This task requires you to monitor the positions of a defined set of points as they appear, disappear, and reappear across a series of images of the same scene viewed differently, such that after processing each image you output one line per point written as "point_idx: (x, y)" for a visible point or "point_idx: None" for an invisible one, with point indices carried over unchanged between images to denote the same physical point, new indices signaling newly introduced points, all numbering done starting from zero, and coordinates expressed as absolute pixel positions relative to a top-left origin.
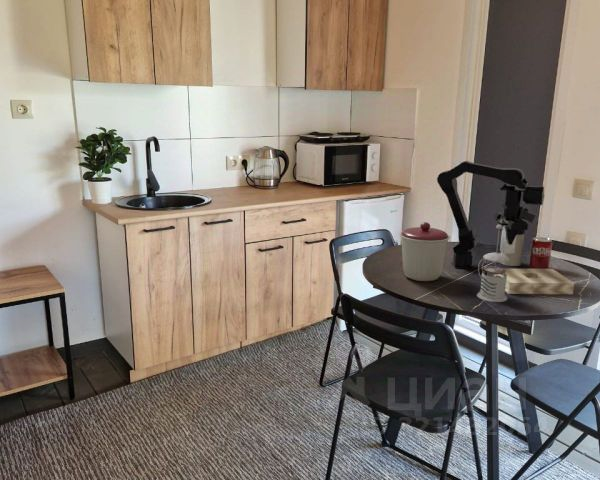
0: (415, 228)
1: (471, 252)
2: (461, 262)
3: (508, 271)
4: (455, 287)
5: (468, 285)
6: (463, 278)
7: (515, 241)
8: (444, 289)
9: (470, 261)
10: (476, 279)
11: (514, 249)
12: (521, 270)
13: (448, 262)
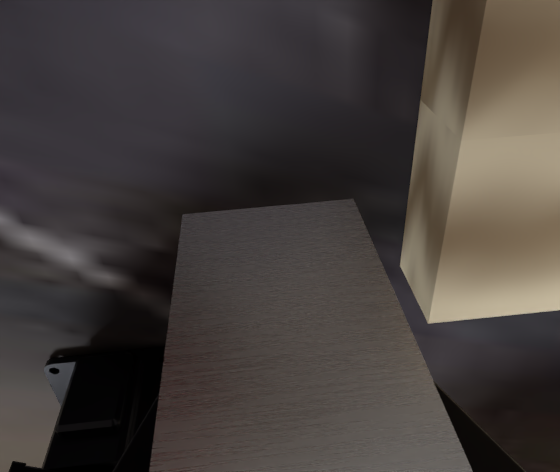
0: None
1: (116, 462)
2: None
3: (536, 232)
4: (517, 437)
5: (502, 392)
6: None
7: (417, 354)
8: (531, 469)
9: (135, 392)
10: None
11: (368, 241)
12: (536, 96)
13: (48, 439)
